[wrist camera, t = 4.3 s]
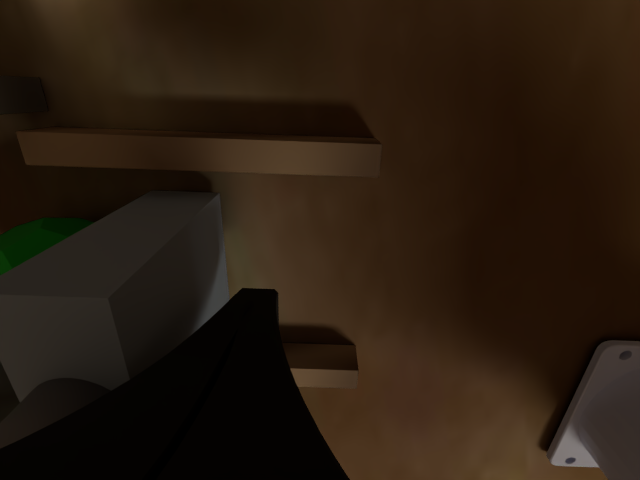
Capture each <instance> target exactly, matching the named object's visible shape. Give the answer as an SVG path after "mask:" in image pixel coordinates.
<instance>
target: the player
mask: <svg viewBox="0 0 640 480" xmlns="http://www.w3.org/2000/svg"><path fill="white" fill-rule="evenodd" d="M228 301H229V290H228V279H227V268H226V257H225V247H224V236H223V225H222V215H221V204H220V193H211V192H183V191H155V190H152V191H150V192H148V193H146V194H144V195H143V196H141V197H139V198H137V199H136V200H134V201H132V202H130V203H128V204H127V205H125V206H123V207H121V208H120V209H118V210H116V211H114V212H112V213H111V214H109V215H107V216H105V217H104V218H102V219H100V220H98V221H96V222H95V223H93V224H91V225H89V226H88V227H86V228H84V229H82V230H80V231H79V232H77V233H75V234H73V235H72V236H70V237H68V238H66V239H64V240H63V241H61V242H59V243H57V244H56V245H54V246H52V247H50V248H48V249H47V250H45V251H43V252H41V253H40V254H38V255H36V256H34V257H32V258H31V259H29V260H27V261H25V262H24V263H22V264H20V265H18V266H16V267H15V268H13V269H11V270H9V271H8V272H6V273H4V274H2V275H0V361H1V363H2V366H3V368H4V370H5V372H6V374H7V376H8V378H9V380H10V383H11V385H12V387H13V389H14V391H15V393H16V395H17V398H18V400H19V402H20V403H19V404H18V405H17V406H16V407H15V408H14V409H13V410H12V412H11V413H10V414H9V415H8V416H7V417H6V418H5V419H4V420H3V421H2V422H1V423H0V449H1V448H3V447H5V446H7V445H9V444H12V443H14V442H16V441H18V440H20V439H22V438H24V437H26V436H28V435H30V434H32V433H34V432H36V431H38V430H40V429H42V428H44V427H46V426H48V425H50V424H52V423H54V422H56V421H58V420H60V419H62V418H64V417H66V416H68V415H69V414H71V413H73V412H75V411H77V410H79V409H81V408H83V407H84V406H86V405H88V404H90V403H91V402H93V401H95V400H97V399H98V398H100V397H102V396H103V395H105V394H107V393H108V392H110V391H112V390H113V389H115V388H117V387H118V386H120V385H122V384H123V383H125V382H127V381H128V380H130V379H132V378H133V377H135V376H136V375H138V374H139V373H141V372H142V371H144V370H145V369H147V368H148V367H150V366H151V365H153V364H154V363H156V362H157V361H158V360H160V359H161V358H163V357H164V356H165V355H167V354H168V353H169V352H171V351H172V350H173V349H175V348H176V347H177V346H178V345H180V344H181V343H182V342H183V341H184V340H186V339H187V338H188V337H189V336H191V335H192V334H193V333H194V332H195V331H197V330H198V329H199V328H200V327H201V326H202V325H203V324H204V323H206V322H207V321H208V320H209V319H210V318H211V317H212V316H213V315H214V314H216V313H217V312H218V311H219V310H220V309H221V308H222V307H223V306H224V305H225V304H226V303H227V302H228Z"/></svg>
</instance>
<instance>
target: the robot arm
mask: <svg viewBox="0 0 640 480" xmlns="http://www.w3.org/2000/svg"><path fill="white" fill-rule="evenodd" d="M546 456H547V458H548V459H549V461H550V463H551V464H553V465H556V466H576V467H600V469H601V470H602V472H603V473H604V474H605V476H606V477H607V478H608V480H640V341H619V340H610V341H605V342H602V343H601V344H600V345H599V346H598V347H597V348H596V350H595V353H594V355H593V357H592V359H591V361H590V363H589V365H588V367H587V369H586V371H585V374H584V376H583V378H582V380H581V382H580V384H579V386H578V388H577V390H576V393H575V395H574V397H573V399H572V401H571V403H570V405H569V407H568V409H567V411H566V414H565V416H564V418H563V420H562V422H561V424H560V426H559V428H558V430H557V433H556V435H555V437H554V439H553V441H552V443H551V445H550V447H549V449H548V451H547V455H546ZM0 480H350V479H349V478H348V476H347V475H346V473H345V472H344V470H343V469H342V467H341V466H340V464H339V463H338V461H337V459H336V458H335V456H334V455H333V453H332V451H331V450H330V448H329V446H328V445H327V443H326V441H325V440H324V438H323V436H322V434H321V433H320V431H319V429H318V427H317V425H316V423H315V421H314V419H313V418H312V416H311V414H310V412H309V410H308V408H307V406H306V404H305V402H304V400H303V398H302V396H301V393H300V391H299V389H298V387H297V384H296V382H295V379H294V377H293V374H292V372H291V369H290V366H289V364H288V361H287V358H286V354H285V351H284V348H283V344H282V341H281V337H280V332H279V317H278V292H277V291H276V290H275V289H253V288H242V289H241V290H240V291H239V292H238V293H237V294H235V295H234V296H233V297H232V298H231V299H230V300H229V301H228V302H227V303H226V304H225V305H224V306H223V307H222V308H221V309H220V310H219V311H218V312H217V313H216V314H214V315H213V316H212V317H211V318H210V319H209V320H208V321H207V322H206V323H204V324H203V325H202V326H201V327H200V328H199V329H198V330H197V331H195V332H194V333H193V334H192V335H191V336H189V337H188V338H187V339H186V340H184V341H183V342H182V343H181V344H180V345H178V346H177V347H176V348H175V349H173V350H172V351H171V352H169V353H168V354H167V355H165V356H164V357H163V358H161V359H160V360H158V361H157V362H156V363H154V364H153V365H151V366H150V367H148V368H147V369H145V370H144V371H142V372H141V373H139V374H138V375H136V376H135V377H133V378H132V379H130V380H128V381H127V382H125V383H123V384H122V385H120V386H118V387H117V388H115V389H113V390H112V391H110V392H108V393H107V394H105V395H103V396H102V397H100V398H98V399H97V400H95V401H93V402H91V403H90V404H88V405H86V406H84V407H83V408H81V409H79V410H77V411H75V412H73V413H71V414H69V415H68V416H66V417H64V418H62V419H60V420H58V421H56V422H54V423H52V424H50V425H48V426H46V427H44V428H42V429H40V430H38V431H36V432H34V433H32V434H30V435H28V436H26V437H24V438H22V439H20V440H18V441H16V442H14V443H12V444H9V445H7V446H5V447H3V448H1V449H0Z"/></svg>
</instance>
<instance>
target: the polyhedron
mask: <svg viewBox="0 0 640 480" xmlns="http://www.w3.org/2000/svg"><path fill="white" fill-rule="evenodd" d="M93 223H95V222H91V221H88V220H85V219H82V218H41V219H38V220H35V221H32V222H28V223H25V224H22V225H18V226H16V227H14V228H12V229H10V230H9V231H7V232H5V233H3V234H1V235H0V275H2V274H4V273H6V272H8V271H9V270H11V269H13V268H15V267H16V266H18V265H20V264H22V263H24V262H25V261H27V260H29V259H31V258H32V257H34V256H36V255H38V254H40V253H41V252H43V251H45V250H47V249H48V248H50V247H52V246H54V245H56V244H57V243H59V242H61V241H63V240H64V239H66V238H68V237H70V236H72V235H73V234H75V233H77V232H79V231H80V230H82V229H84V228H86V227H88V226H89V225H91V224H93Z"/></svg>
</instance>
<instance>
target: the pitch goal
mask: <svg viewBox="0 0 640 480" xmlns="http://www.w3.org/2000/svg"><path fill="white" fill-rule="evenodd" d="M41 111H48V108H47V104H46V101H45V97H44V93H43V90H42V86H41V83H40V79H39V78H34V77H15V76H0V114H10V113H26V112H41ZM15 132H16V135H17V138H18V141H19V145H20V148H21V151H22V154H23V157H24V160H25V163H26V165H41V166H69V167H98V168H126V169H154V170H182V171H210V172H238V173H266V174H294V175H322V176H351V177H379V171H380V162H381V152H382V144H381V143H380V142H379V141H378V140H377V139H376V138H356V137H328V136H300V135H272V134H243V133H215V132H187V131H159V130H131V129H103V128H75V127H47V128H38V129H30V130H22V131H15ZM282 344H283V348H284V351H285V354H286V358H287V361H288V364H289V366H290V369H291V372H292V374H293V377H294V379H295V382H296V384H297V387H323V388H351V389H357V380H358V363H357V355H356V346H355V345H331V344H303V343H282ZM19 403H20V402H19V400H18V398H17V395H16V393H15V391H14V389H13V387H12V385H11V383H10V380H9V378H8V376H7V374H6V372H5V370H4V368H3V366H2V363H1V361H0V423H1V422H2V421H3V420H4V419H5V418H6V417H7V416H8V415H9V414H10V413H11V412H12V410H13V409H14V408H15V407H16V406H17V405H18V404H19Z"/></svg>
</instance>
